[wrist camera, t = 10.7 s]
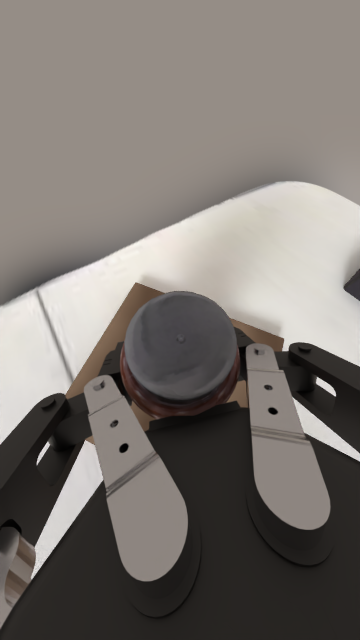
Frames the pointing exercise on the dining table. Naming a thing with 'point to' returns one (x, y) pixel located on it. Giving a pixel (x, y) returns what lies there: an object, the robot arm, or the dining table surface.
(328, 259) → the dining table surface
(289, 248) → the dining table surface
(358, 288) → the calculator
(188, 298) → the supplement bottle
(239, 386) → the pin tray
